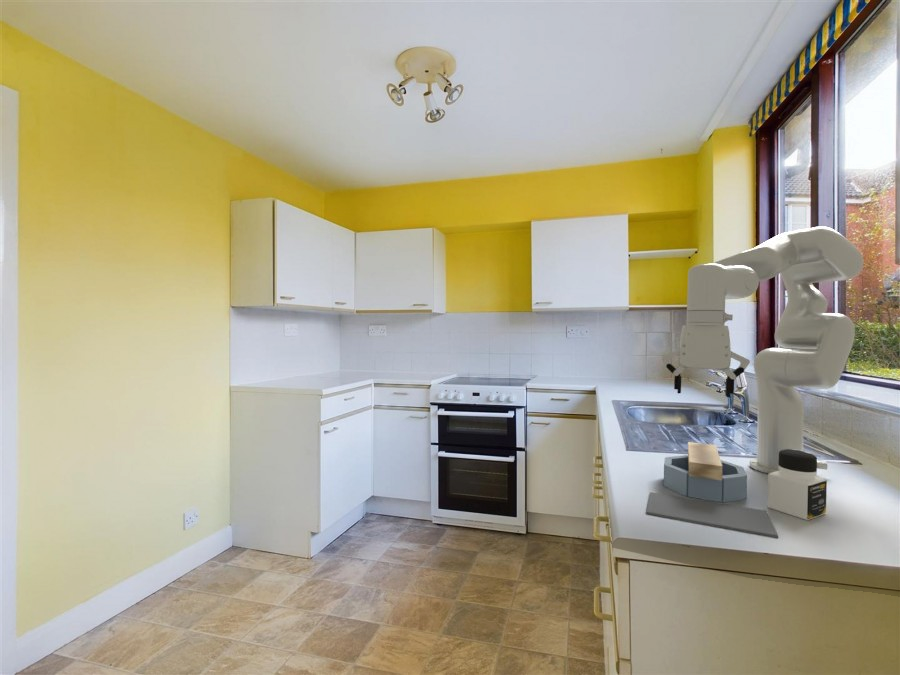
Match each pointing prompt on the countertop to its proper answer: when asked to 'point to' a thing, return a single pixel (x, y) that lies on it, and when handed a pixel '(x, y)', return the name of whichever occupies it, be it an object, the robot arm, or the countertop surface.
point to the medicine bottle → (797, 485)
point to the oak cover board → (704, 461)
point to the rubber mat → (711, 514)
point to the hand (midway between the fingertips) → (702, 394)
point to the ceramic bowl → (705, 481)
